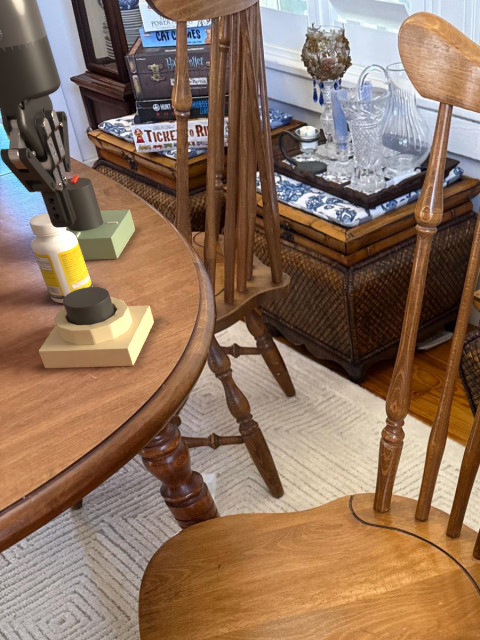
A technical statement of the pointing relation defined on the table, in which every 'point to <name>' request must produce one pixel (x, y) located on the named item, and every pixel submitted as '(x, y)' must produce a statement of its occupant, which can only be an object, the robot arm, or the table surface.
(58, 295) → the supplement bottle
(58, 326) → the button base
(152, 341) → the table surface
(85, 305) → the button
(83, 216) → the dial
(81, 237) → the dial panel
